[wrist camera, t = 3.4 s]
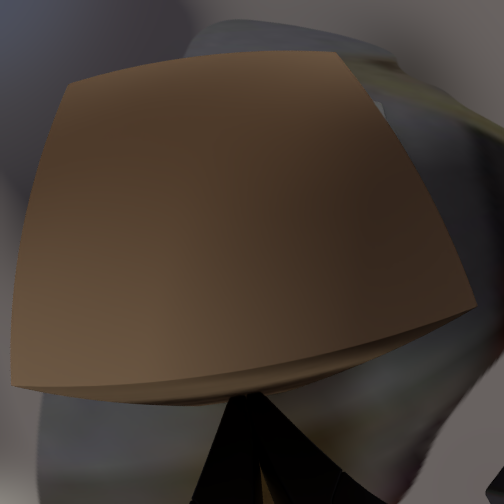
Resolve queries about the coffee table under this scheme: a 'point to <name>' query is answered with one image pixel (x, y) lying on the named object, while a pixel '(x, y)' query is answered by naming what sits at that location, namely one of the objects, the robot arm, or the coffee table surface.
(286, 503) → the robot arm
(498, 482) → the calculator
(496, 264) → the coffee table surface
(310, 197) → the block
